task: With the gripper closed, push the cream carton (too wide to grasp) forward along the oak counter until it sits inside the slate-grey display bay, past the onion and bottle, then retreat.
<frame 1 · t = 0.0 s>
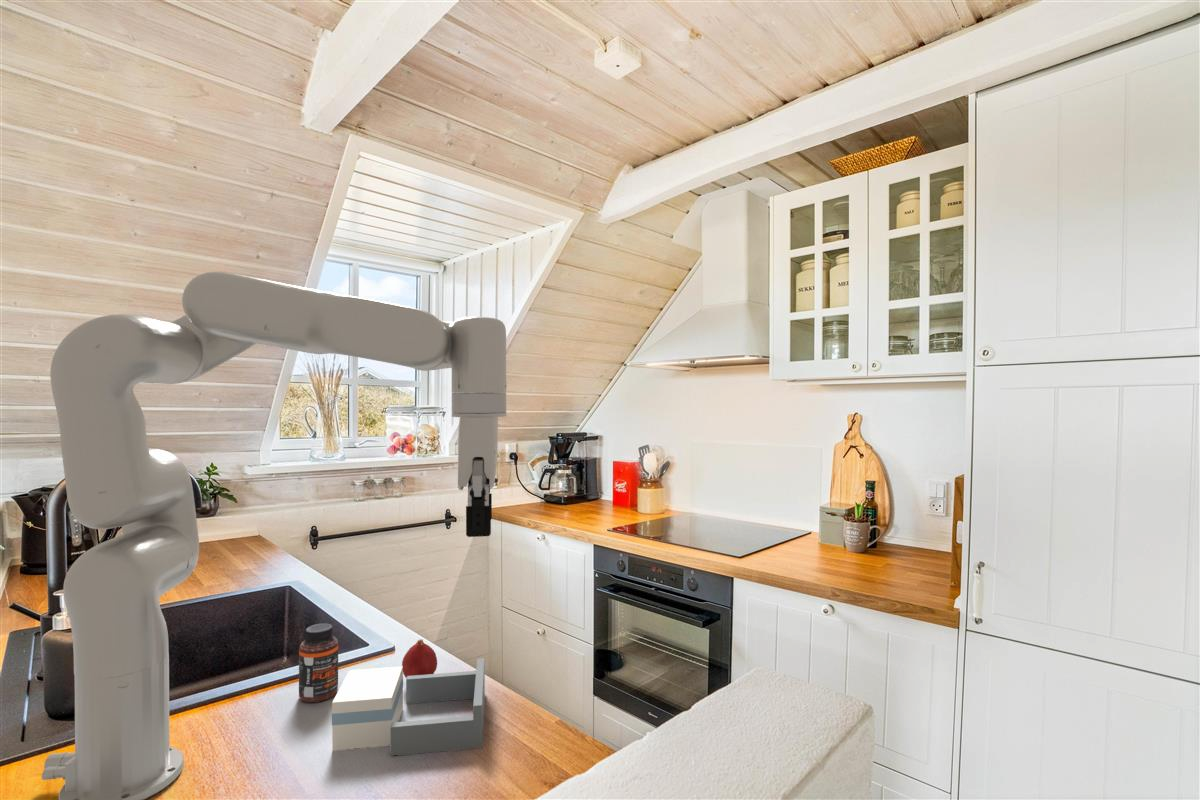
hand: (479, 527, 85), 31 cm above the table, tool pointing down, fingers open, 9 cm apart
bay: (442, 722, 92), on the table
onion: (419, 686, 104), on the table
carton: (369, 729, 90), on the table
supplement bottle: (318, 696, 100), on the table
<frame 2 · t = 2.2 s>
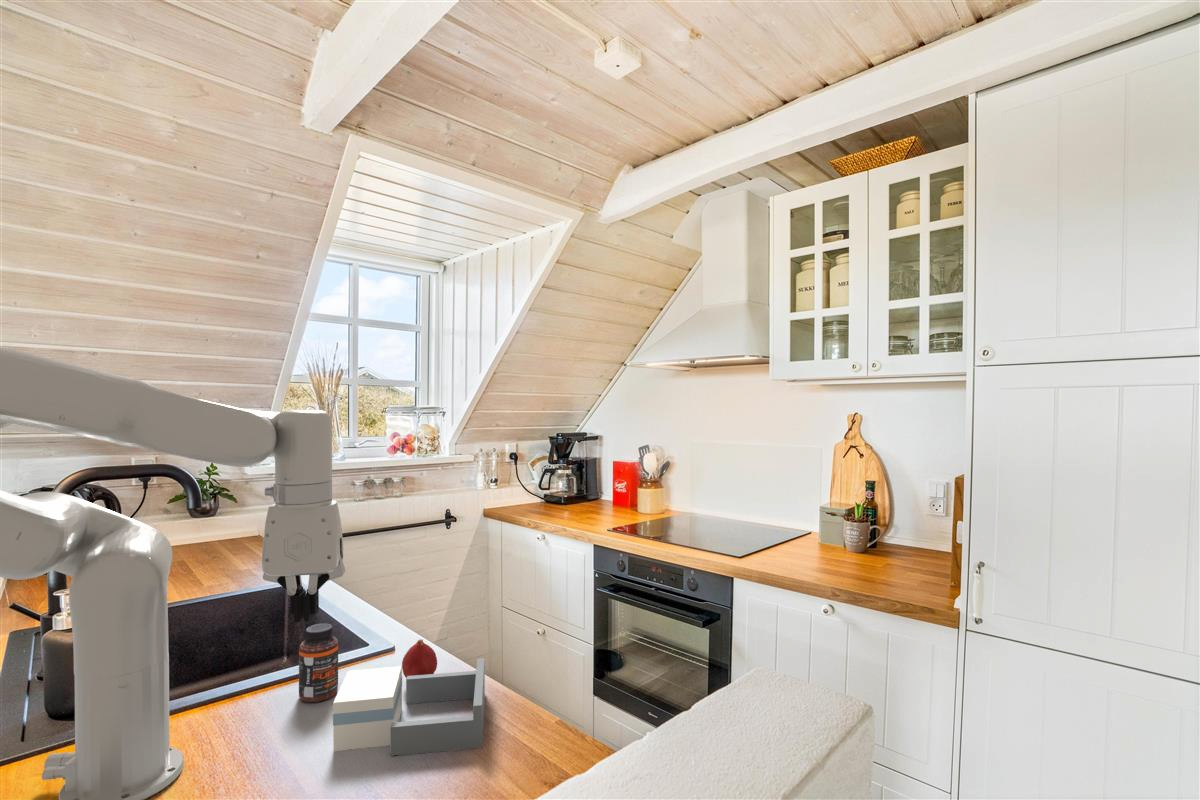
hand: (305, 618, 88), 17 cm above the table, tool pointing down, fingers closed
nothing on the table moved.
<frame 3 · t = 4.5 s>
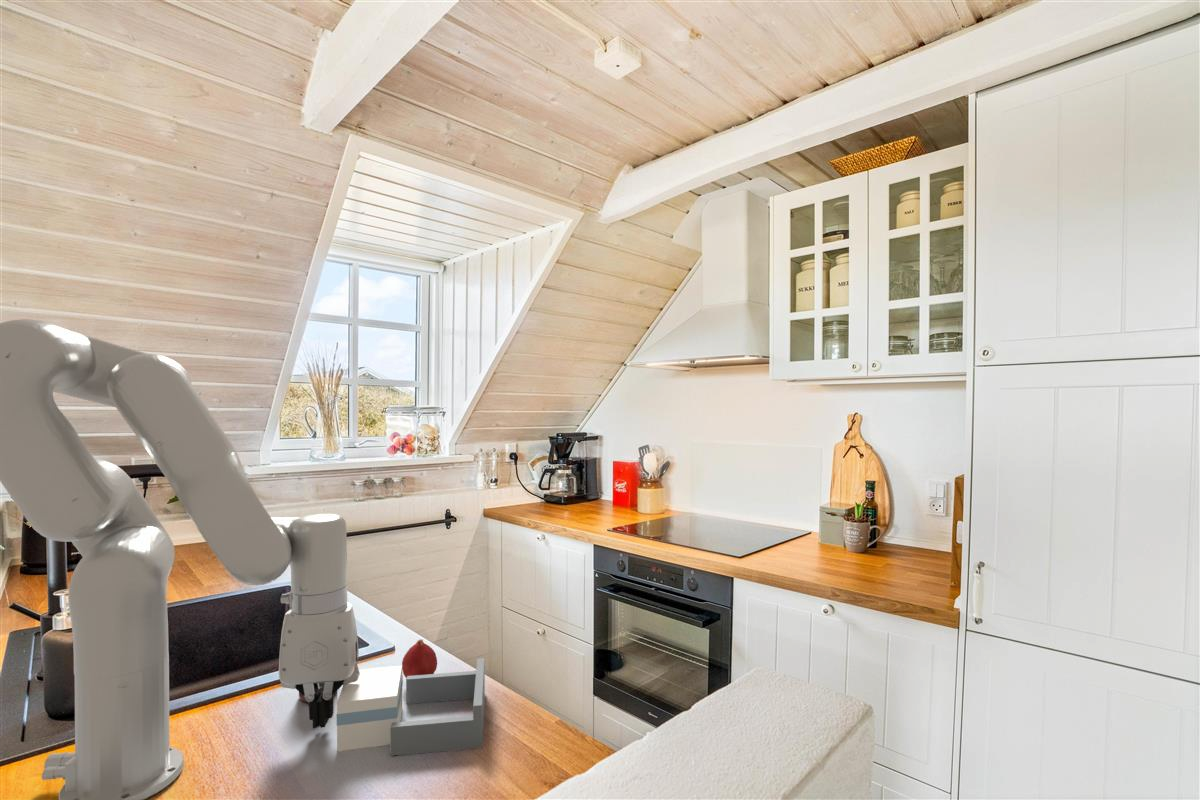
hand: (321, 722, 89), 1 cm above the table, tool pointing down, fingers closed
carton: (371, 729, 90), on the table, touching gripper
everything else where it was.
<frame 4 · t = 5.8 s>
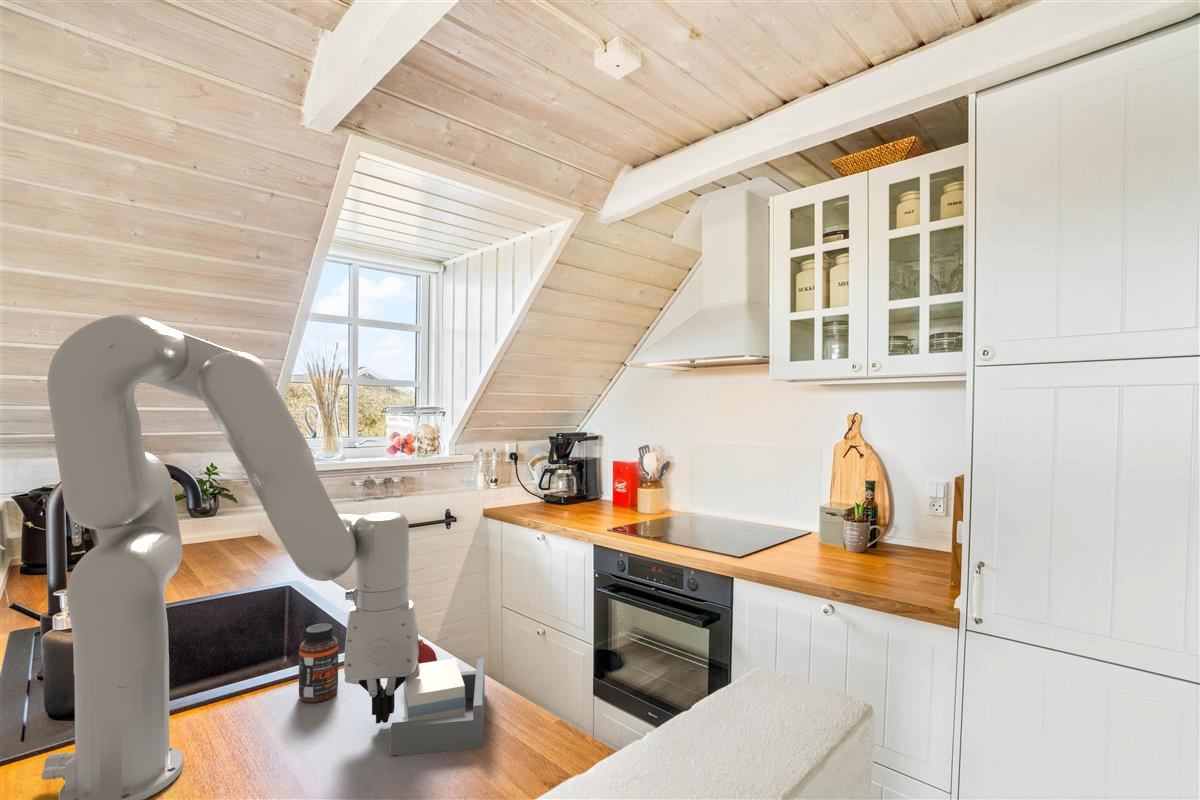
hand: (383, 718, 90), 1 cm above the table, tool pointing down, fingers closed
carton: (433, 721, 92), on the table, touching gripper
everything else where it was.
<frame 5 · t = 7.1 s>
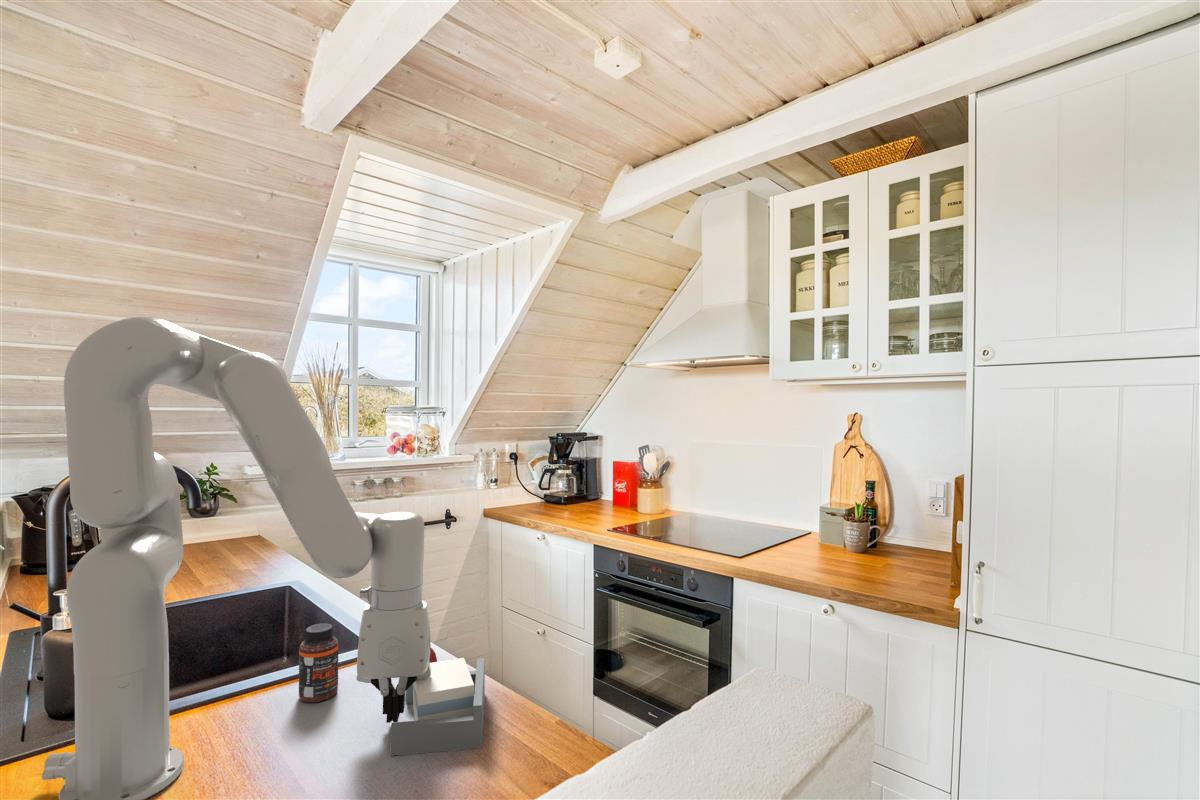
hand: (393, 717, 91), 1 cm above the table, tool pointing down, fingers closed
carton: (442, 720, 93), on the table, touching bay, gripper
everything else where it was.
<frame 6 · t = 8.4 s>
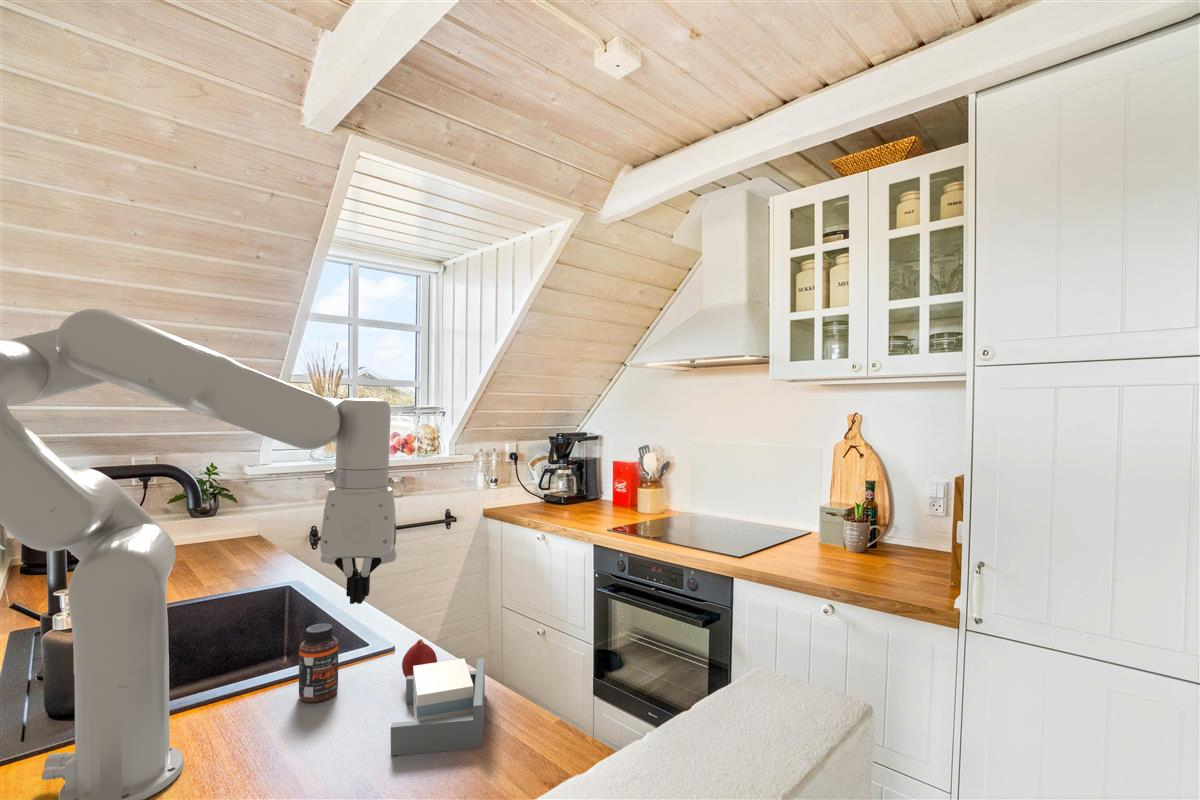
hand: (357, 600, 91), 19 cm above the table, tool pointing down, fingers closed
carton: (442, 720, 92), on the table
everything else where it was.
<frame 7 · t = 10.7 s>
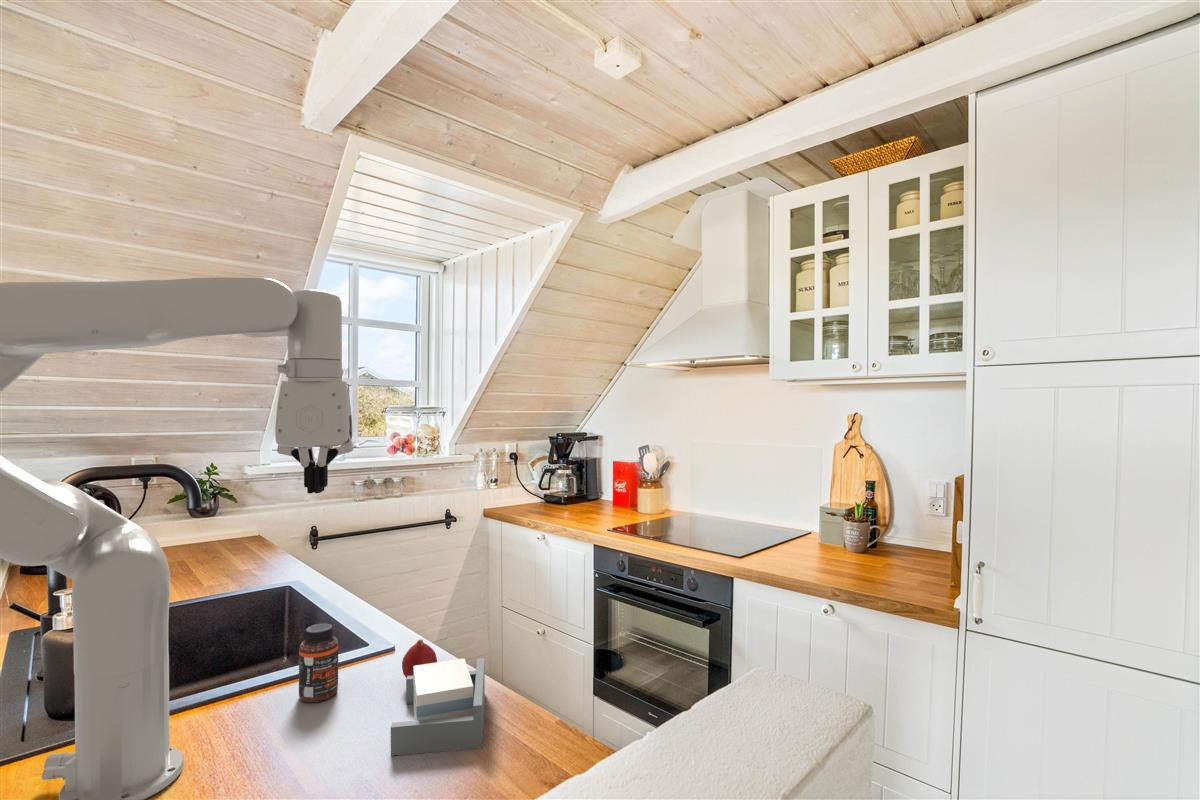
hand: (316, 491, 92), 35 cm above the table, tool pointing down, fingers closed
nothing on the table moved.
at the end: carton 1.0 cm off-centre on the bay, point 0.0 cm above the bay's base; carton tilted 0°; carton moved 10.5 cm from its start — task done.
